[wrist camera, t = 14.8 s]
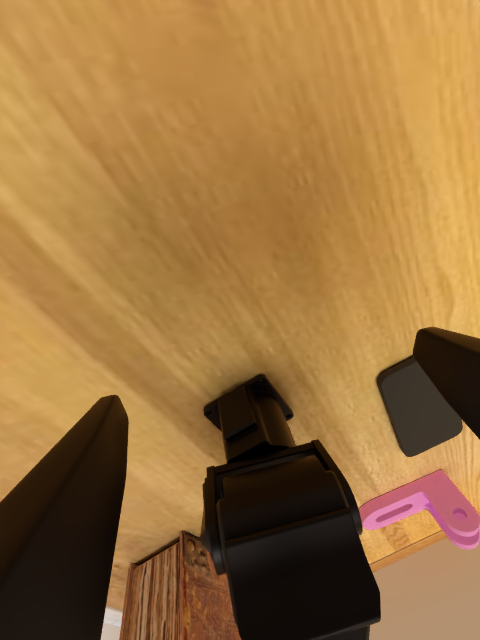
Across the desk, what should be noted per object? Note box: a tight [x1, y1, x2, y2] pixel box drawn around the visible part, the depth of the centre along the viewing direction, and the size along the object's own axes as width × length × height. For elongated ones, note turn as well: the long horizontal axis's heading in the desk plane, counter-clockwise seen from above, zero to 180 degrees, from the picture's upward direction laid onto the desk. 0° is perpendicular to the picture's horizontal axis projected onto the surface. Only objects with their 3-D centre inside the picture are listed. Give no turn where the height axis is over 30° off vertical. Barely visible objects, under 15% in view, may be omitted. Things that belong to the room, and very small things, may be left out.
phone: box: [378, 357, 463, 457], centre depth 31 cm, size 7×1×15 cm
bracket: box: [359, 469, 480, 549], centre depth 38 cm, size 13×6×7 cm, turn 114°
